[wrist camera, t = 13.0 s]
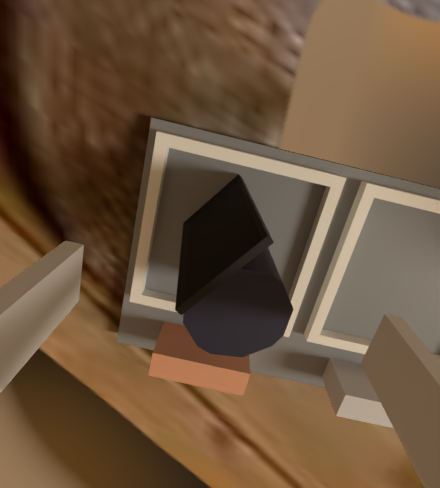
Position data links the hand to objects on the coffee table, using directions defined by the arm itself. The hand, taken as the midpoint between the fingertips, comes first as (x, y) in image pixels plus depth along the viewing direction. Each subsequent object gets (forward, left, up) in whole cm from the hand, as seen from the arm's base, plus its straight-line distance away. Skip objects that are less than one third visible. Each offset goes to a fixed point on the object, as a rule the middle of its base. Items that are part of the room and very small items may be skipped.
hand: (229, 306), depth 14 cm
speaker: (0, 0, -11) cm, 11 cm away
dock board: (+2, +7, -12) cm, 14 cm away
